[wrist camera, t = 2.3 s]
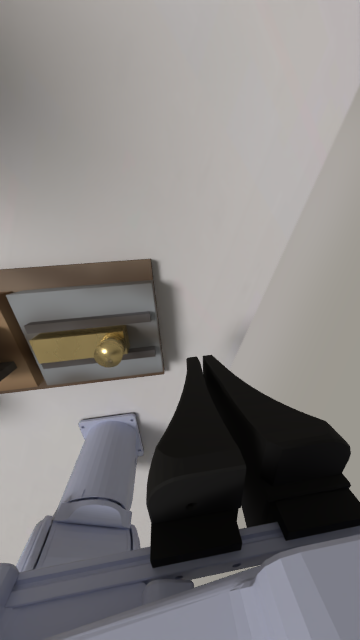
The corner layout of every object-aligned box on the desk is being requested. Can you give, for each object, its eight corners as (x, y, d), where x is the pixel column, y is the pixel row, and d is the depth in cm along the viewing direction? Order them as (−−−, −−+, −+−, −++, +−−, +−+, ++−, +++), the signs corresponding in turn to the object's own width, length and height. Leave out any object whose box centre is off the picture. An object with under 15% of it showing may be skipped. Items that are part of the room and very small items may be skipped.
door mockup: (164, 369, 23) (165, 404, 17) (-47, 394, 21) (-117, 442, 16) (150, 258, 17) (146, 261, 12) (-134, 279, 15) (-286, 292, 10)
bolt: (131, 345, 17) (124, 366, 14) (49, 354, 17) (22, 378, 14) (127, 324, 17) (118, 341, 13) (40, 333, 16) (9, 353, 13)
